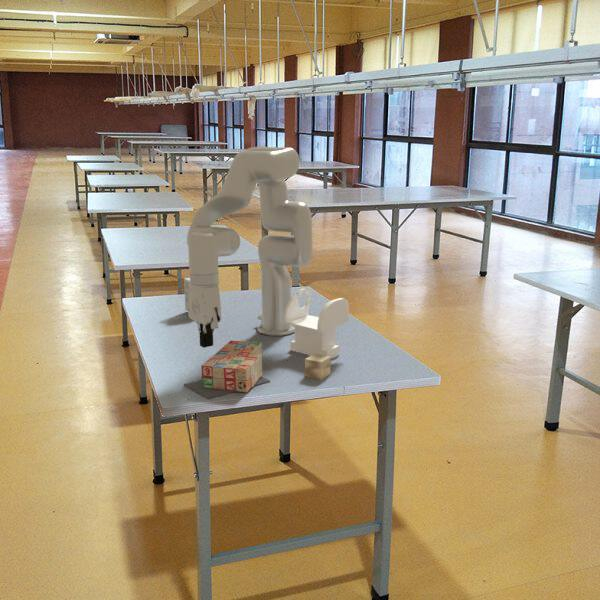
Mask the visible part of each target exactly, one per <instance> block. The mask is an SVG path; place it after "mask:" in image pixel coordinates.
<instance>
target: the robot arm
mask: <svg viewBox="0 0 600 600" xmlns="http://www.w3.org/2000/svg"><path fill="white" fill-rule="evenodd" d="M299 167H300V157H299V153H298V152H297V151H296V150H295V148H292V147H283V146H280V147H279V146H278V147H277V146H274V147H273V146H255V147H253V146H252V147H249V148H246V149H245V150H244V151H240V152H238V153H237V154H236V155H235V156H234V157H233V160H232V162H231V164H230V167H229V169H228V172H227V174H226V177H225V180H224V182H223V185H222V187H221V189H220V192H219V193H217V194H216V195H214V196H213V197H211V198H210V199H209V200H208V201H207V202H205V203H204V204H203V205H202V206H201V207H200V208H199V209H198V210H197V211H196V213H194V217H193V219H192V221H191V224H190V226H189V228H188V231H187V235H186V236H187V237H186V243H187V248H188V270H189V272H188V274H189V278H190V284H189V292H188V313H187V315H188V317H189V319H191V320H192V321H194V322H195V323H196V324H197V328H198V329H197V330H198V332H199V346H200V347H201V348H204V349H205V348H208V347H213V346H214V332H215V329H219V323H220V322H221V320H222V303H221V295H220V288H219V284H220V283H219V282H220V281H219V280H220V279H219V277H220V276H219V258H220V257H230V256H233V255H234V254H236V252H237V251H238V250H239V248H240V246H241V238H240V235H239V233H238V232H237V231H236V230H235V229H233V228H229V227H217V226H212V225H213V224H214V223H215V222H217V221H218V220H220V219H221V218H223V217H226V216H228V215H229V216H230V215H232V214H234V213H237V212H239V211H242V210H244V209H246V208H247V207H248V206H249V204H250V203H251V199H252V197H253V194H254V191H255V189H256V185H258V188H259V189H258V190H259V191H258V192H259V203H260V204H259V205H260V218H261V225H262V227H263V228H264V229H265V230H267V231H273V232H278V233H279V232H280V233H281V232H282V233H283V232H284V233H292V234H293V235H287V234H267V235H264V236H263V237H261V238H260V240H259V242H258V244H257V253H258V258H259V259H258V260H259V263H260V264H259V265H260V273H261V314H260V315H258V316H257V320H260V324H259V325H258V326H257V332H258V331H259V332H258V333H260V334H262V333H263V334H262V335H265V334H266V336H274V337H275V336H276V337H277V336H286V335H291V334H293V333H295V326H293V325H289V324H285V323H284V313H285V309H286V306H287V304H288V302H289V301H290V299H291V298H292V277H291V273H290V272H289V269H288V268H287V267H286V266H288V267H306V266H308V265H309V264H310V263H311V262H312V258H313V220H312V212H311V209H310V207H309V205H308V204H307V203H304V202H302V201H291V200H290V201H289V200H288V187H287V182H286V181H285V180H286V179H290V178H291V177H293V176H295V175H296V174H297V172H298V170H299Z"/></svg>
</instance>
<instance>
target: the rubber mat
mask: <svg viewBox="0 0 600 600" xmlns="http://www.w3.org/2000/svg"><path fill="white" fill-rule="evenodd" d="M270 382H271V380H270V379H268V378H266V377H263V376H261V377H260V378H259V380H258V381H257V382H256V383H255V385H254V386H253V387H256V386H259V385H264V384H267V383H270ZM183 386H184V387H186V388H188V389H189V390H191V391H193V392H194V393H196V394H198V395H200V396H202V397H204V398H205V399H207V400H210V399H214V398H217V397H221V396H225V395H228V394H231V393H235V392H236V391H228V390H220V389H208V388H203V383H202V379H198V380H195V381H191V382H187V383H183Z"/></svg>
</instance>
